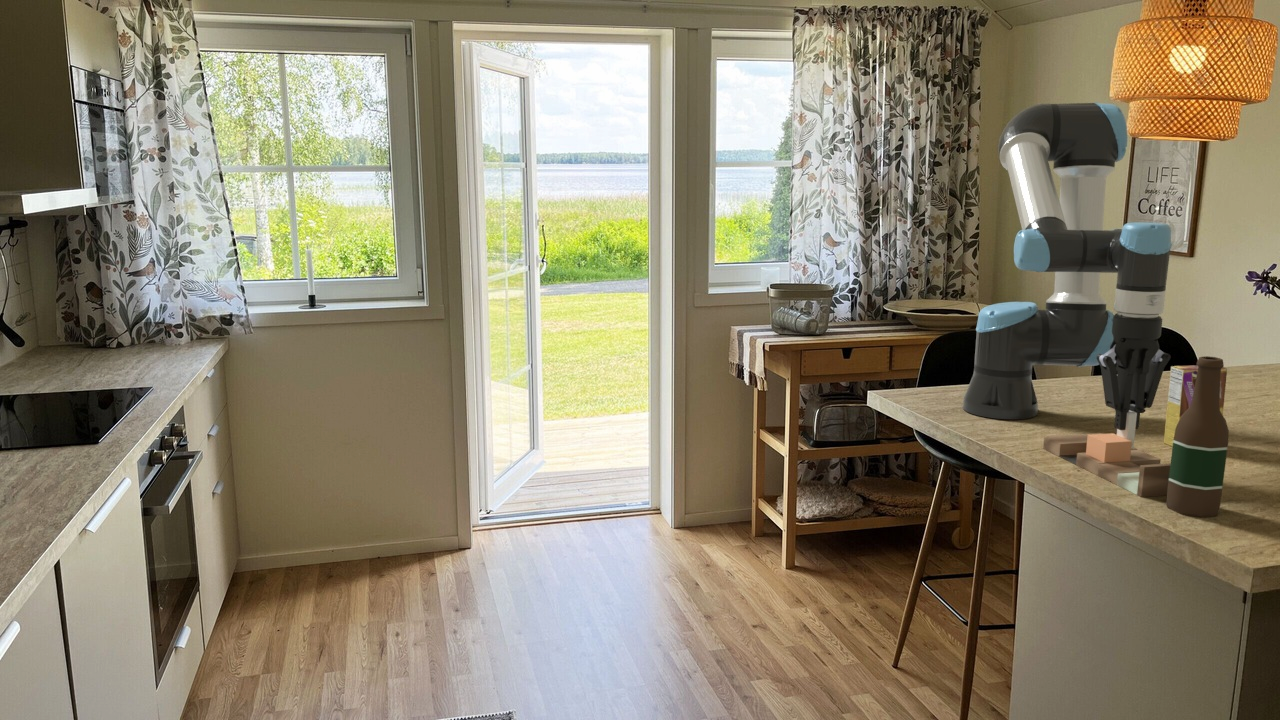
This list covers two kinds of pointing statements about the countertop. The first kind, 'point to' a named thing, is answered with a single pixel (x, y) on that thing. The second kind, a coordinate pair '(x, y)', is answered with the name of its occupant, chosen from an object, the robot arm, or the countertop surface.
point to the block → (1108, 447)
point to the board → (1114, 465)
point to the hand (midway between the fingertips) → (1124, 447)
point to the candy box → (1184, 396)
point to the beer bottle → (1200, 447)
